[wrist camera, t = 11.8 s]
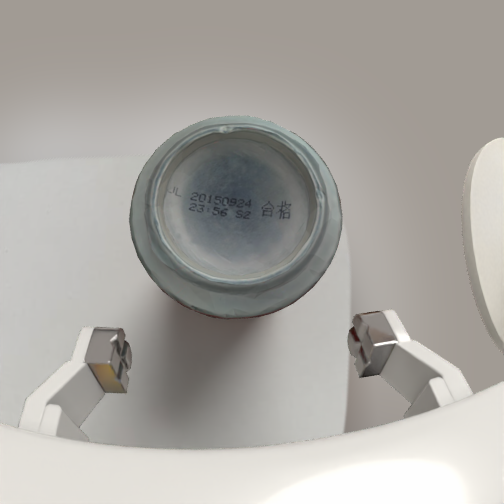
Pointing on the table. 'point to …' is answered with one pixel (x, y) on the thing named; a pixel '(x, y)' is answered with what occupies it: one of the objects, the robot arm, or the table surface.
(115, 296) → the table surface
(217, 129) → the soda can
